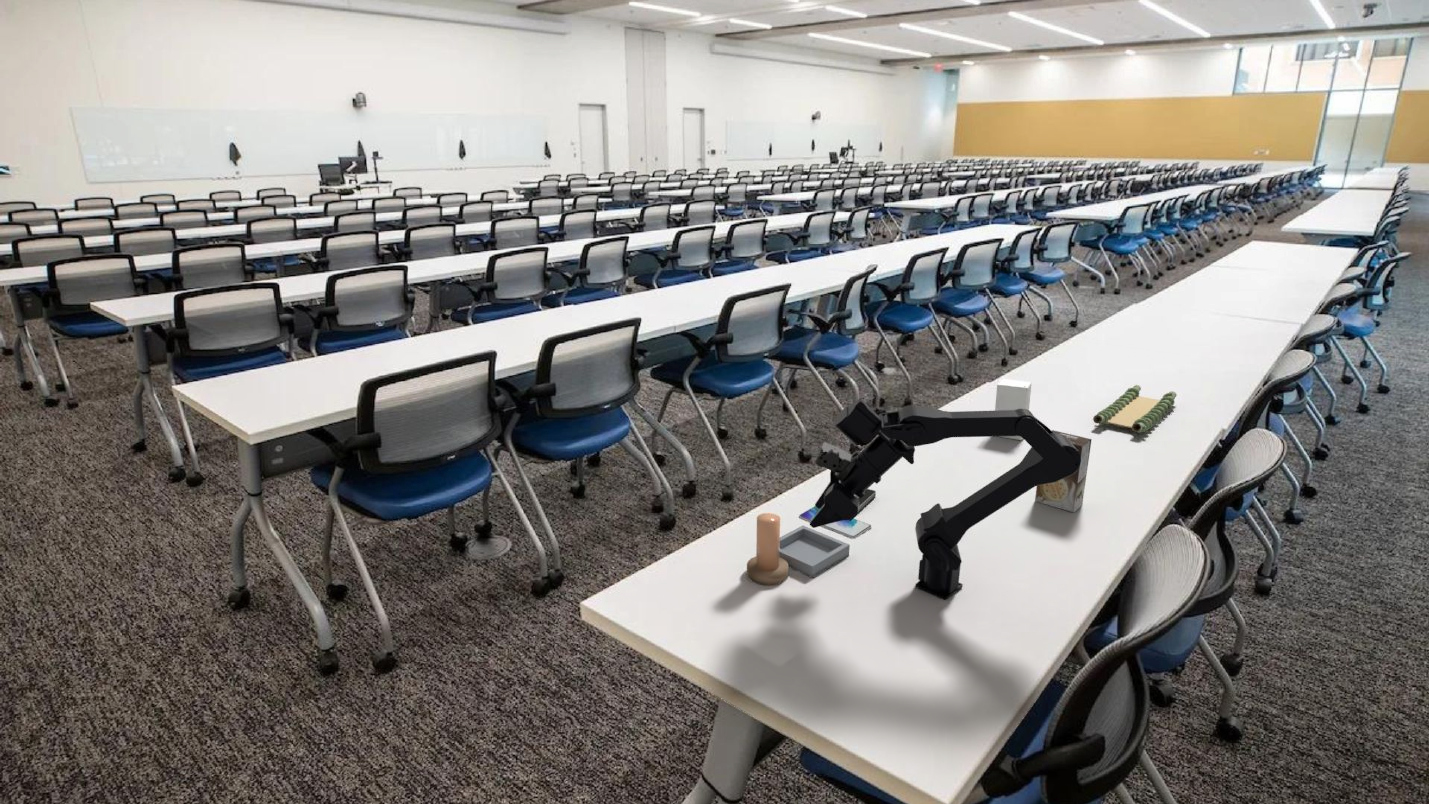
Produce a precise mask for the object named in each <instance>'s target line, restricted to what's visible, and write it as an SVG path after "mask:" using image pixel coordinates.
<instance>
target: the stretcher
mask: <svg viewBox="0 0 1429 804" xmlns="http://www.w3.org/2000/svg"><path fill="white" fill-rule="evenodd" d="M1140 391H1142V387H1141V386H1140V385H1138V384H1134V386H1133V387H1128V389H1126V391H1124V393H1123V394H1122V395H1121V396H1119V397H1118V398H1117V399H1116V400H1114V401H1113V402H1112V403H1111V404H1109V405H1108V406H1106V407H1105V408H1103V409H1101V411H1099V412H1097V414H1096V415H1094V416H1093V418H1092V420H1093V422H1094V423H1095V424H1098V425H1101V426H1102V425H1103V426H1105V425H1106V424H1109V425H1110V424H1111V425H1114V426H1115V425H1116V426H1119V427H1123V428H1129V429H1132V431H1133V432H1135V433H1141V434H1142V433H1144V432H1146V431H1148V430H1150V429H1152V428H1153V426H1155V425H1156V424H1157V423H1159V421H1161V420H1162V418H1163V417H1165V416H1166V414H1167V413H1169V410H1170V409H1172V408H1173V407H1172V406H1174V405H1175V399H1176V398H1177V392H1175V391H1173V390H1172V391H1169V392H1166V393H1165V394H1163V395H1162V397H1161V398H1160V399H1157V398H1153V397H1152V398H1151V397H1145V396H1140Z"/></svg>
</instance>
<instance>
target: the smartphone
mask: <svg viewBox="0 0 1429 804" xmlns="http://www.w3.org/2000/svg"><path fill="white" fill-rule="evenodd" d="M820 509H821V508H819V509H818V508H817V507H816V506H815V505H814V506H813V507H811V508H809V509H807V510H805V511H803V513H801V514H799V516H798V517H799V518H800V519H801V520H804V521H806V522H809V523H810V522H811V521H812V519H813V518H814V517H815V515H816V514H817V513H818V511H819V510H820ZM821 527H823V528H824V529H826V530H829V531H832V530H833V532H835V533H837V534H840V533H841V534H840V535H842V534H843V535H842V536H845V537H847V536H848V537H847V538H850V539H857V538H859V537H860V536H861V534H862V533H863V534H864V533H866V532H868V531H869V530H871V529H872V525H871V524H869V523H867V522H865V521H861V520H859V519H856V518H854V519H853V520H851V521H849V520H847V521H846V520H843V521H838V522H834V523H830V524H826V525H823V526H821ZM867 530H868V531H867ZM863 534H862V535H863Z"/></svg>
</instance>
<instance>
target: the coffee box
mask: <svg viewBox="0 0 1429 804" xmlns="http://www.w3.org/2000/svg"><path fill="white" fill-rule="evenodd" d="M1051 431H1052V432H1053V433H1058V434H1062V435H1065V436H1066V437H1067V438H1068V439H1069V440H1070V441H1071V442H1072V444H1073V445H1074V446H1075V448H1076V449H1077V450H1078V452H1079V454H1080V456H1081V463H1080V468H1079V469H1078V471H1077V472H1075V473H1074V474H1073V475H1071V476H1068V477H1066V478H1064V479H1062V480H1059V481H1057V482H1054V483H1049V484H1043V485H1038V486H1036V491H1035V497H1034V502H1036V503H1040V504H1044V505H1045V506H1046V505H1047V506H1051V507H1053V508H1057V509H1060V510H1065V511H1068V512H1071V513H1076V511H1077V510H1078V509H1080V508H1081V507H1082V506H1083V505H1084V494H1085V489H1086V487H1085V486H1086V482H1087V481H1086V480H1087V473H1088V468H1089V467H1088V466H1089V460H1090V453H1091V446H1092V440H1093V439H1092V438H1088V437H1087V438H1086V437H1084V436H1079V435H1076V434H1075V435H1074V434H1072V433H1070V434H1069V433H1068V432H1062V431H1057V430H1051Z"/></svg>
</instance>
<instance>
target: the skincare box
mask: <svg viewBox="0 0 1429 804" xmlns="http://www.w3.org/2000/svg"><path fill="white" fill-rule="evenodd" d="M1031 395H1032V382H1031V381H1022V380H1014V379H1007V378H1002V379H1001V380H1000V381H999V382H998V383H997V384H996V395H995V405H994V411H998V410H1017V409H1027V410H1029V411H1030V403H1031ZM997 437H998V438H1005V439H1011V440H1016V441H1017V440H1018V441H1023V440H1024V439H1023V438H1022V437H1021V436H997Z"/></svg>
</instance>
